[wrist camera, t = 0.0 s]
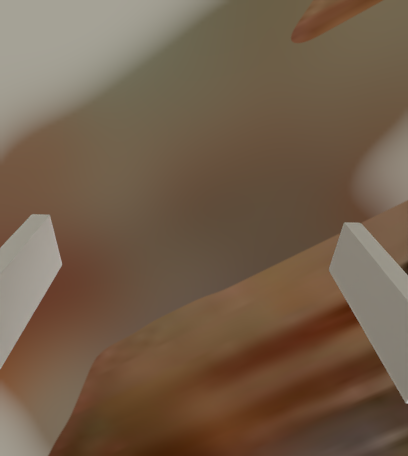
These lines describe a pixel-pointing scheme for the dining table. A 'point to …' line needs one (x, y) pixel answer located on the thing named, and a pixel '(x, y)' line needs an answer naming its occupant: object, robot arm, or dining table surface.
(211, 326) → the dining table surface
